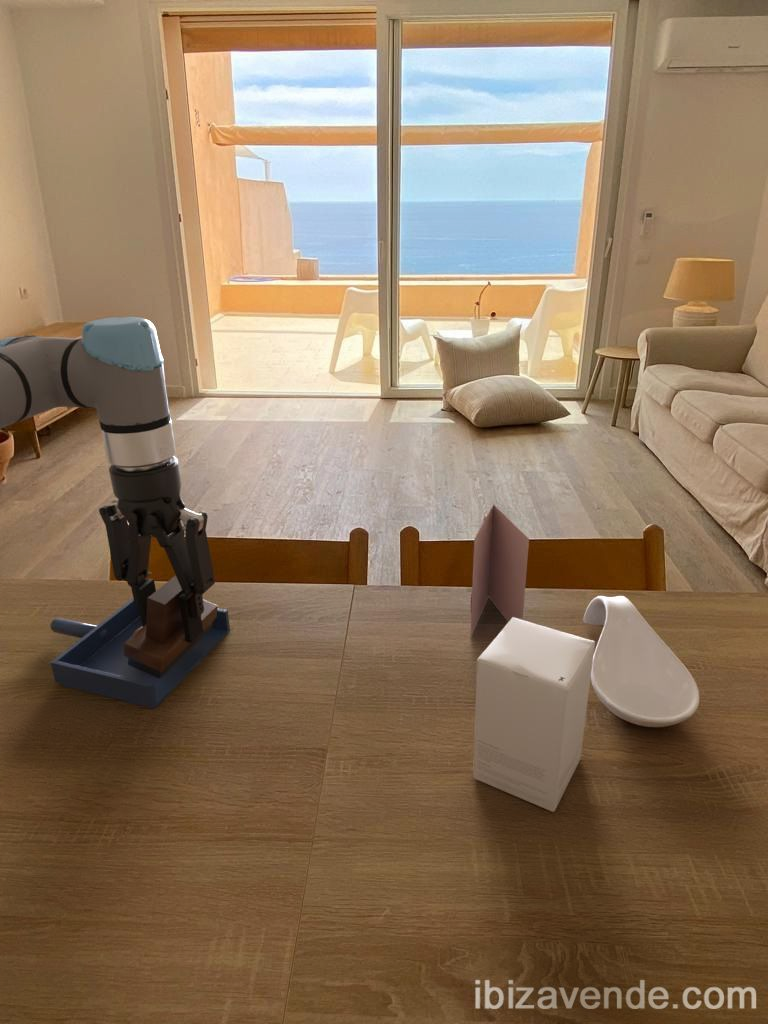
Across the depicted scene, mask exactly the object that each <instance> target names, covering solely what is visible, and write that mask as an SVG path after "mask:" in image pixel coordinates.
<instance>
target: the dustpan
mask: <svg viewBox="0 0 768 1024" xmlns="http://www.w3.org/2000/svg"><path fill="white" fill-rule="evenodd" d="M142 626H143V625H142V620H141V615H140V610H139V607H136V605H135V603H134V599H133V598H131V599H130V600H129V601H127V602H126V603H125V604H123V605H122V606H121V607H120V608H118V609H117V610H116V611H115V612H113V613H112V614H110V615H109V616H108V617H107V618H105V619H104V620H103V621H102V622H100V623H99V624H98V625H94V624H89V623H85V622H80V621H75V620H72V619H71V620H70V619H66V618H61V617H56V618H54V619H53V620H52V621H51V622H50V630H51V631H52V632H53V633H55V634H61V635H65V636H68V637H72V638H73V637H74V638H78V640H77V641H76V642H75V643H73V644H72V645H71V646H70V647H69V648H67V649H66V650H65V651H63V652H61V654H59V655H58V656H57V657H55V658H54V659H52V661H50V667H51V670H52V675H53V678H54V682H55V683H58V685H59V686H62V687H66V688H70V689H73V690H78V691H82V692H86V693H90V694H94V695H97V696H101V697H106V698H110V699H113V700H118V701H122V702H125V703H129V704H134V705H138V706H142V707H146V708H149V709H154V710H155V709H156V708H157V707H158V706H159V705H160V704H161V703H162V702H163V701H164V700H165V699H166V698H167V697H168V696H169V695H170V693H171V692H172V691H173V690H175V688H176V687H177V686H179V684H180V683H182V681H183V680H184V679H185V678H186V677H187V676H188V675H189V674H190V673H191V672H192V671H193V670H194V669H195V668H196V667H197V666H198V665H199V664H200V663H201V661H203V660H204V659H205V657H206V656H207V655H208V654H209V653H210V652H211V651H212V650H213V649H214V648H215V647H216V646H217V645H218V644H219V643H220V642H221V641H222V640H223V639H224V637H225V636H226V635H227V634H228V633H229V632H230V631H231V626H230V619H229V610H228V609H223V608H217V617H216V618H215V619H214V620H213V622H212V628H211V629H210V630H209V631H208V632H207V633H206V634H205V635H204V636H203V637H202V638H201V639H200V640H199V641H198V642H197V643H196V644H195V645H194V646H193V647H192V648H191V649H190V650H189V651H188V652H187V653H186V654H185V655H183V656H182V657H181V658H180V659H179V660H178V661H177V662H176V663H175V664H174V665H173V666H172V667H171V668H170V669H169V670H168V671H167V672H166V673H165V674H164V675H163V676H162V677H161V678H160V679H159V678H157V677H155V676H152V675H150V674H148V673H146V672H143V671H141V670H139V669H136V668H134V667H132V666H129V665H128V657H125V656H124V643H125V642H126V641H127V640H129V639H130V638H131V637H132V635H133V634H134V632H135V631H136V630H137V629H138V628H140V627H142Z"/></svg>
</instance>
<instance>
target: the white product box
mask: <svg viewBox="0 0 768 1024" xmlns="http://www.w3.org/2000/svg"><path fill="white" fill-rule="evenodd" d="M595 646H596V641H595V640H592V639H588V638H585V637H581V636H578V635H575V634H571V633H568V632H564V631H561V630H557V629H555V628H551V627H547V626H544V625H540V624H537V623H534V622H531V621H527V620H524V619H523V620H521V619H518V618H514V617H512V619H511V620H510V621H509V622H508V621H507V623H506V624H505V626H503V628H502V629H501V630H500V632H499V633H498V634H497V636H495V638H494V639H493V640H492V641H491V642H490V644H489V645H488V646H487V647H486V648H485V650H484V651H483V652H482V653H481V654H480V655H479V657H478V658H477V659H476V686H475V689H476V690H475V711H474V713H475V714H474V738H473V764H472V778H473V779H474V780H477V781H479V782H482V783H484V784H486V785H488V786H490V787H493V788H495V789H498V790H499V791H502V792H505V793H507V794H509V795H512V796H514V797H517V798H519V799H520V800H521V799H522V800H523V801H526V802H528V803H530V804H533V805H534V806H535V805H536V806H538V807H540V808H543V809H545V810H547V811H549V812H552V813H554V812H555V811H556V810H557V807H558V805H559V803H560V802H561V800H562V797H563V796H564V794H565V791H566V790H567V788H568V785H569V783H570V781H571V779H572V777H573V775H574V773H575V771H576V769H577V767H578V765H579V763H580V760H581V758H582V751H583V743H584V735H585V727H586V719H587V709H588V703H589V702H588V701H589V693H590V685H591V670H592V662H593V656H594V652H595V648H596V647H595Z"/></svg>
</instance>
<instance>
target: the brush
mask: <svg viewBox="0 0 768 1024" xmlns="http://www.w3.org/2000/svg"><path fill="white" fill-rule="evenodd" d="M182 593H183V591H182V588H181V586H180V584H179V581H178V579H177V577H176V574H175V575H174V576H173V577H171V578H170V579H169V580H167V582H165V583H164V584H162V586H160V587H159V588H157V589H156V591H155V592H154V593H153V594H152V595H150V596H149V597H148V598H147V621H146V625H145V626H144V627H143V628H142V629H140V630H139V631H138V632H137V633H136V634H134V635H133V636H132V637H131V638H130V639H129V640H127V641H126V642H125V643H124V656H125V657H128V665H129V666H132V667H134V668H136V669H139V670H141V671H143V672H146V673H148V674H150V675H152V676H155V677H157V678H159V679H160V678H161V677H162V676H163V675H164V674H165V673H166V672H167V671H168V670H169V669H170V668H171V667H172V666H173V665H174V664H175V663H176V662H177V661H178V660H179V659H180V658H181V657H182V656H183V655H185V654H186V653H187V652H188V651H189V650H190V649H191V648H192V647H193V646H194V645H195V644H196V643H197V642H198V641H199V640H200V639H201V638H202V637H203V636H204V635H205V634H206V633H207V632H208V631H209V630H210V629H211V628H212V622H213V620H214V619H215V618H216V617H217V608H218V607H219V605H217V604H215V603H212V602H210V601H208V600H205V599H203V604H204V612H203V613H202V614H201V620H202V626H203V632H202V633H201V634H200V635H199V636H198V637H197V638H196V639H195V640H194V641H193V642H192V643H189V642H186V639H185V633H184V627H183V621H182V616H181V610H180V604H179V598H178V596H180V595H181V594H182ZM218 609H219V608H218Z"/></svg>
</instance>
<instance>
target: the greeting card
mask: <svg viewBox="0 0 768 1024" xmlns="http://www.w3.org/2000/svg"><path fill="white" fill-rule="evenodd" d="M529 545H530V538H529V537H528V536H527V535H526V534H525V533H524V532H523V531H522V530H520V529H519V528H518V526H517V525H515V524H514V522H512V520H511V519H509V517H507V515H506V514H504V512H502V511H501V510H500V508H498V506H496V505H495V504H494V503H493V504H492V505H491V508H490V509H489V511H488V513H487V515H486V516H485V515H484V518H483V520H482V523H481V526H480V527H479V529H478V531H477V533H476V534H475V537H474V540H473V560H472V561H473V562H472V565H473V566H472V583H471V585H472V586H471V596H470V630H469V631H470V632H469V633H470V634H469V638H471V637H472V635H473V633H474V630H475V628H476V626H477V624H478V622H479V619H480V616H481V614H482V612H483V610H484V608H485V605H486V603H487V601H488V598H489V599H490V600H491V601H492V602H493V604H494V605H495V607H496V608H497V609H498V611H499V612H500V613H501V614H502V616H503V617H504V618H505V619H506V621H507V623H508V622H509V621H510V620H511V619H512V617H514V618H518V619H521V620H524V607H525V596H526V583H527V570H528V569H527V568H528V559H529V558H528V556H529Z"/></svg>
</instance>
